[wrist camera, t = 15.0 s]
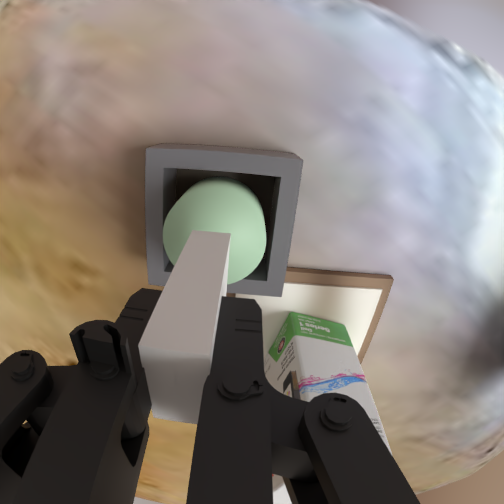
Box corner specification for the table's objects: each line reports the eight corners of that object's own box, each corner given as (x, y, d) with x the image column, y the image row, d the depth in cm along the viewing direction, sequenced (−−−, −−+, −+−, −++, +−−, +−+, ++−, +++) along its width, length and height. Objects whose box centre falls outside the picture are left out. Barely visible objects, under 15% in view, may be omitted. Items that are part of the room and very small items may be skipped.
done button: (176, 255, 18) (164, 280, 15) (177, 173, 16) (162, 185, 13) (258, 263, 18) (260, 289, 16) (268, 180, 16) (272, 194, 13)
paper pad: (218, 400, 26) (217, 406, 26) (226, 261, 20) (225, 267, 19) (338, 403, 27) (340, 409, 26) (390, 275, 21) (394, 280, 20)
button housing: (161, 262, 20) (148, 284, 18) (162, 143, 17) (145, 148, 14) (277, 273, 21) (281, 297, 18) (295, 153, 17) (303, 160, 15)
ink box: (289, 308, 21) (314, 463, 10) (348, 324, 22) (398, 461, 11) (247, 383, 24) (246, 510, 13) (299, 393, 25) (315, 512, 14)
